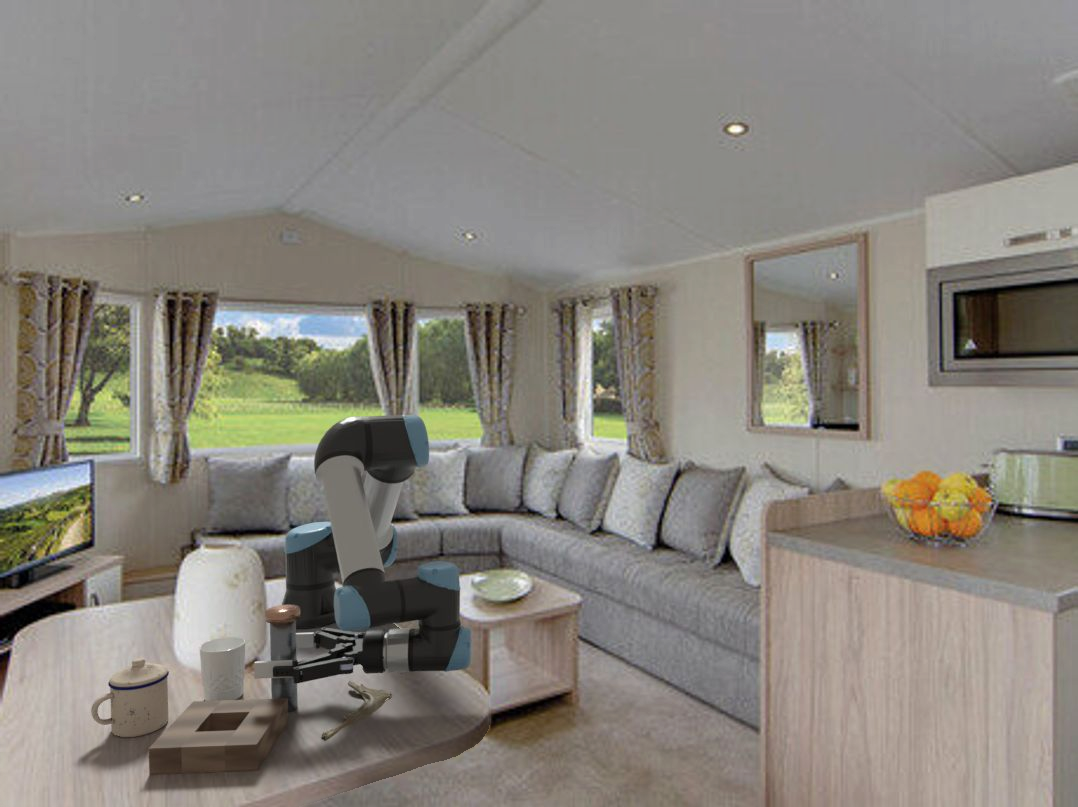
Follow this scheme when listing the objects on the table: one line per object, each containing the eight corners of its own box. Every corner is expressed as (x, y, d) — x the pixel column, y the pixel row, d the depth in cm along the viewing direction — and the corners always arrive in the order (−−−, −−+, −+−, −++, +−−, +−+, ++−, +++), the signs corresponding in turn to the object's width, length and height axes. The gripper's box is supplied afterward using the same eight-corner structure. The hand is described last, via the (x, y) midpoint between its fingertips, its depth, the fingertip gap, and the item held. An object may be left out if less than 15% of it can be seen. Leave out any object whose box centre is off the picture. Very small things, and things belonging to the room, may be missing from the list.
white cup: (236, 684, 142) (235, 633, 141) (253, 696, 136) (252, 643, 136) (194, 696, 136) (193, 644, 136) (210, 709, 130) (208, 655, 130)
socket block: (194, 724, 125) (193, 701, 125) (288, 720, 126) (287, 698, 126) (149, 774, 109) (148, 748, 109) (257, 770, 110) (256, 744, 110)
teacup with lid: (155, 709, 131) (153, 645, 131) (179, 723, 125) (177, 657, 125) (81, 735, 121) (79, 667, 121) (104, 752, 116) (102, 680, 115)
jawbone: (394, 692, 140) (395, 681, 140) (375, 747, 119) (375, 734, 119) (347, 689, 139) (348, 679, 139) (319, 744, 119) (320, 732, 119)
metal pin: (273, 701, 134) (270, 605, 133) (306, 700, 134) (303, 604, 133) (262, 716, 128) (260, 615, 127) (297, 715, 128) (294, 614, 127)
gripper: (375, 701, 119) (244, 706, 118) (396, 646, 144) (288, 649, 143) (374, 656, 119) (242, 661, 118) (395, 608, 144) (287, 612, 142)
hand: (267, 654), depth 130 cm, fingers open, 13 cm apart
